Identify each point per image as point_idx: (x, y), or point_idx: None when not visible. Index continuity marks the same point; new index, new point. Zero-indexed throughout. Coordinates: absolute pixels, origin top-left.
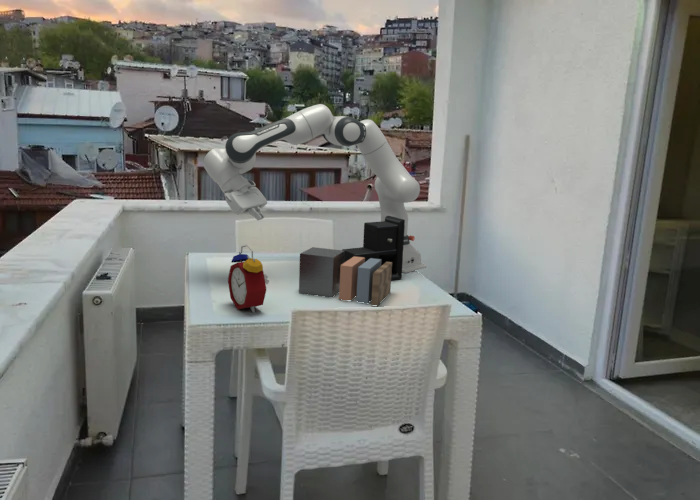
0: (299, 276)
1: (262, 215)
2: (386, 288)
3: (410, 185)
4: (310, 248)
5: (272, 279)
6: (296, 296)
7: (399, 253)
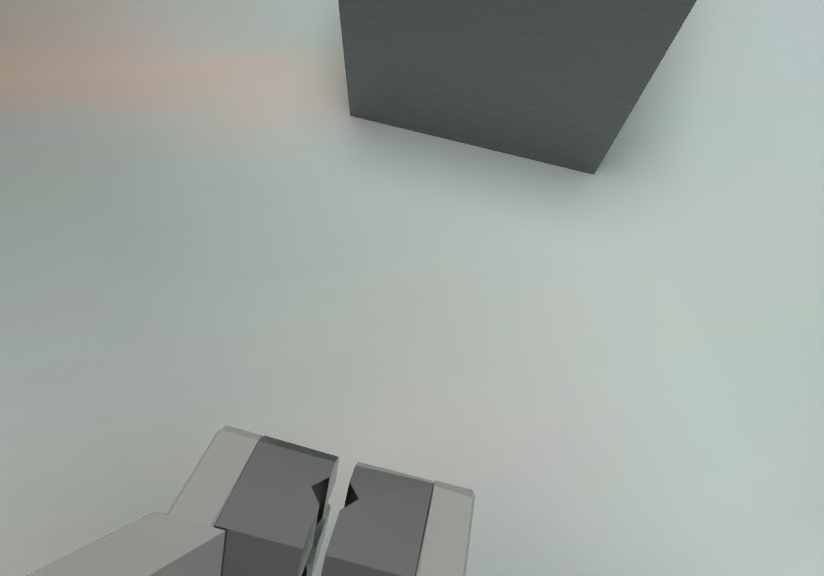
0: (631, 110)
1: (297, 469)
2: None
3: None
4: None
5: None
6: (673, 180)
7: None
